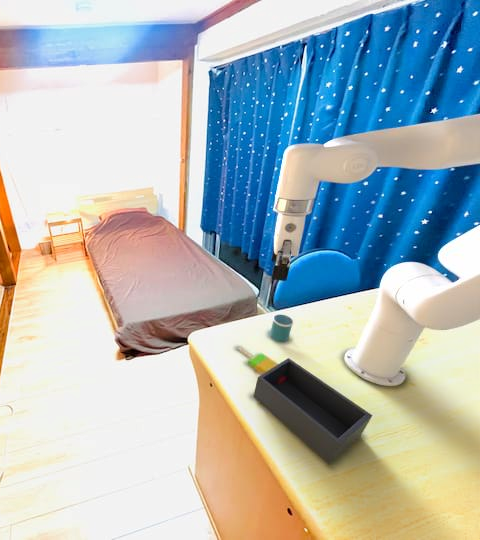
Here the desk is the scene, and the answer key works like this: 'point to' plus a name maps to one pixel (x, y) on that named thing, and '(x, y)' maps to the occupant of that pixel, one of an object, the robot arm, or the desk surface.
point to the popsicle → (261, 363)
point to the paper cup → (281, 328)
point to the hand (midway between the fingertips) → (278, 270)
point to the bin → (311, 409)
